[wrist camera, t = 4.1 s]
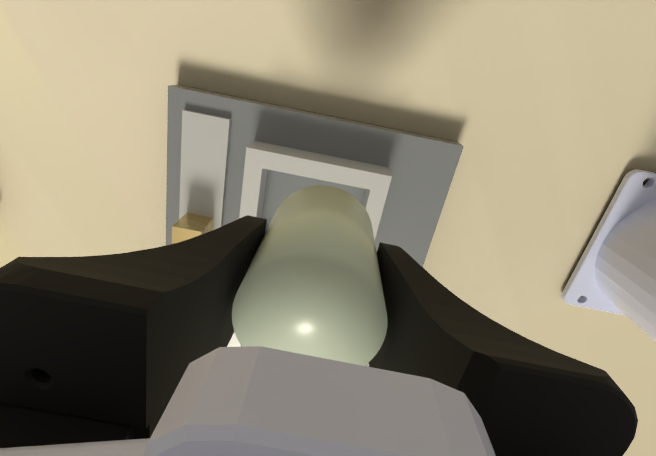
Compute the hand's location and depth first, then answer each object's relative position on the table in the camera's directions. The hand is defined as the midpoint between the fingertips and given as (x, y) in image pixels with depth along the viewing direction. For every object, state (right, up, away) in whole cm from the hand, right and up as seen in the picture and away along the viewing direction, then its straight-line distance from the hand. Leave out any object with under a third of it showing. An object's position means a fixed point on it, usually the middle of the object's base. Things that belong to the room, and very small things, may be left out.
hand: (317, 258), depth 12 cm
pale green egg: (0, +1, +1) cm, 2 cm away
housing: (-2, -1, +10) cm, 10 cm away
